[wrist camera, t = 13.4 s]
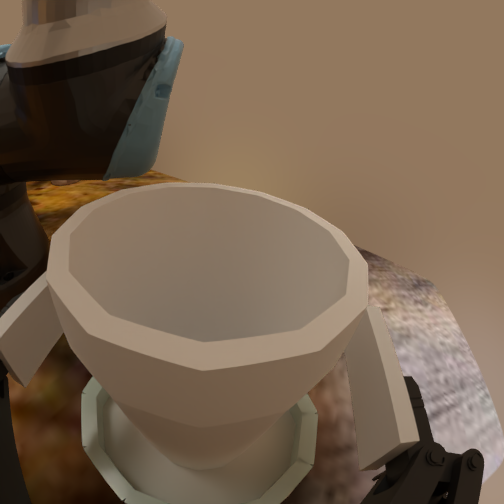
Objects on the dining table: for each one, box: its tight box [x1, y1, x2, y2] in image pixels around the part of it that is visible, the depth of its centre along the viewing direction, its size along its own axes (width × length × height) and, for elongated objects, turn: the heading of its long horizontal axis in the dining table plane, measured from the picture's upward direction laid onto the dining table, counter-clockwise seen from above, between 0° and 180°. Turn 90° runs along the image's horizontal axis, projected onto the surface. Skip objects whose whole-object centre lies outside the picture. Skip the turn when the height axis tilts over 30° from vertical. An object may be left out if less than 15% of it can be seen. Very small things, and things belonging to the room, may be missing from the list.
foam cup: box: [46, 183, 368, 471], centre depth 11 cm, size 10×9×13 cm
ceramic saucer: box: [81, 377, 318, 504], centre depth 14 cm, size 14×14×2 cm
